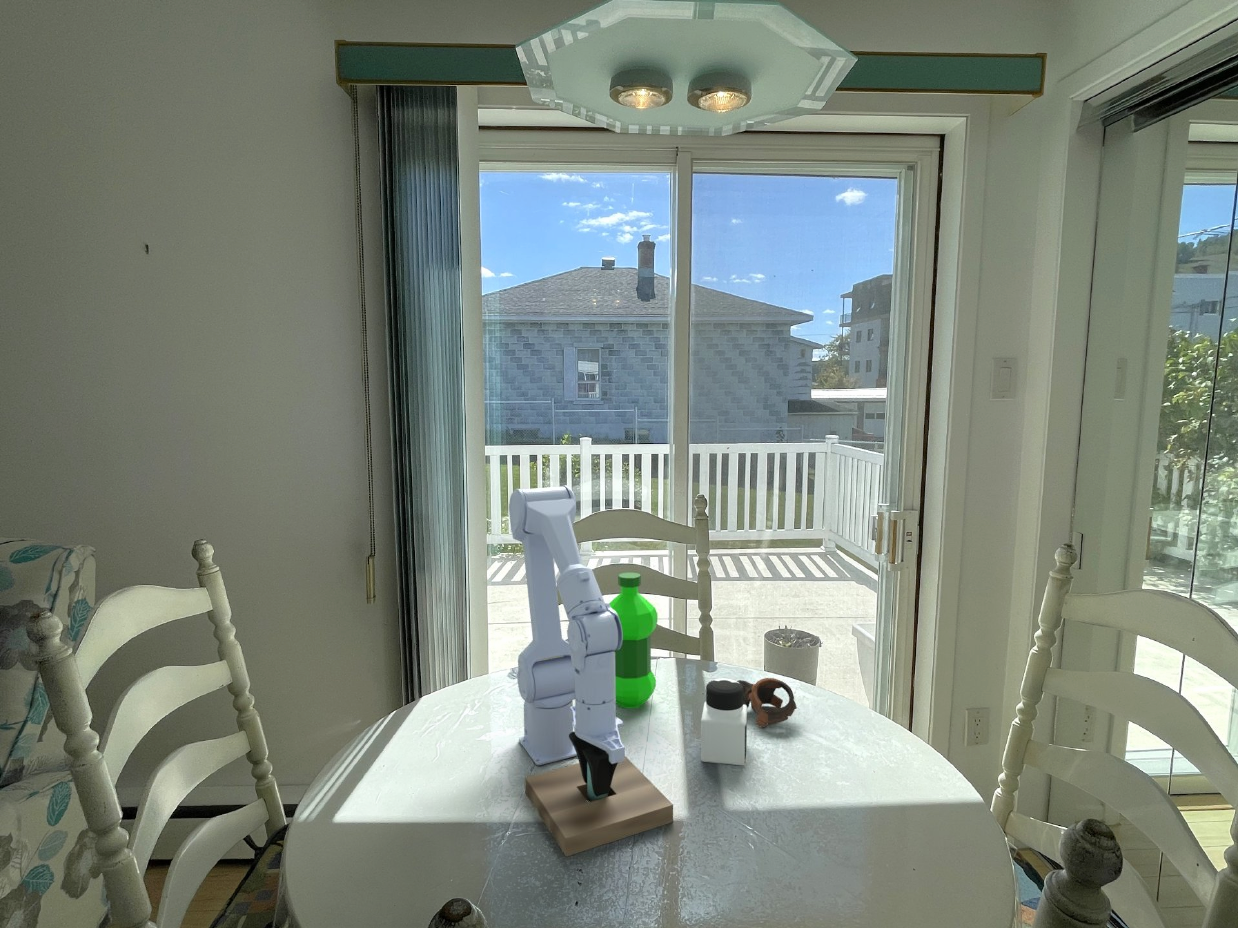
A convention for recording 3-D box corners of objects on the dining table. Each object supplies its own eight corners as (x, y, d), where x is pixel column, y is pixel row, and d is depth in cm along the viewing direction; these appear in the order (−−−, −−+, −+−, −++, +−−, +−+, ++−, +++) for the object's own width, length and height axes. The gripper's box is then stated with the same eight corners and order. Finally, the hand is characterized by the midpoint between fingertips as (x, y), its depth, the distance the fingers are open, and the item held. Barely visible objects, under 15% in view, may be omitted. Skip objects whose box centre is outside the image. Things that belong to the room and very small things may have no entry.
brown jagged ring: (796, 710, 130) (804, 683, 125) (782, 751, 123) (790, 725, 119) (736, 685, 135) (741, 658, 130) (719, 723, 128) (724, 696, 123)
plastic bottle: (658, 713, 128) (658, 582, 126) (602, 714, 128) (600, 582, 126) (656, 690, 138) (656, 568, 136) (603, 691, 138) (602, 568, 136)
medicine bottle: (745, 766, 110) (746, 694, 109) (700, 762, 111) (700, 690, 110) (746, 744, 117) (747, 675, 116) (704, 740, 118) (704, 672, 117)
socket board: (525, 793, 103) (525, 777, 103) (621, 766, 110) (621, 751, 110) (566, 856, 89) (565, 838, 88) (673, 821, 96) (673, 804, 96)
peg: (583, 796, 100) (583, 757, 99) (601, 790, 101) (601, 751, 101) (594, 807, 97) (593, 766, 97) (612, 800, 99) (612, 760, 98)
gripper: (644, 710, 93) (645, 805, 94) (599, 672, 106) (600, 756, 107) (597, 721, 90) (598, 820, 91) (556, 681, 103) (557, 767, 104)
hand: (596, 786), depth 99 cm, fingers closed on peg, 3 cm apart
